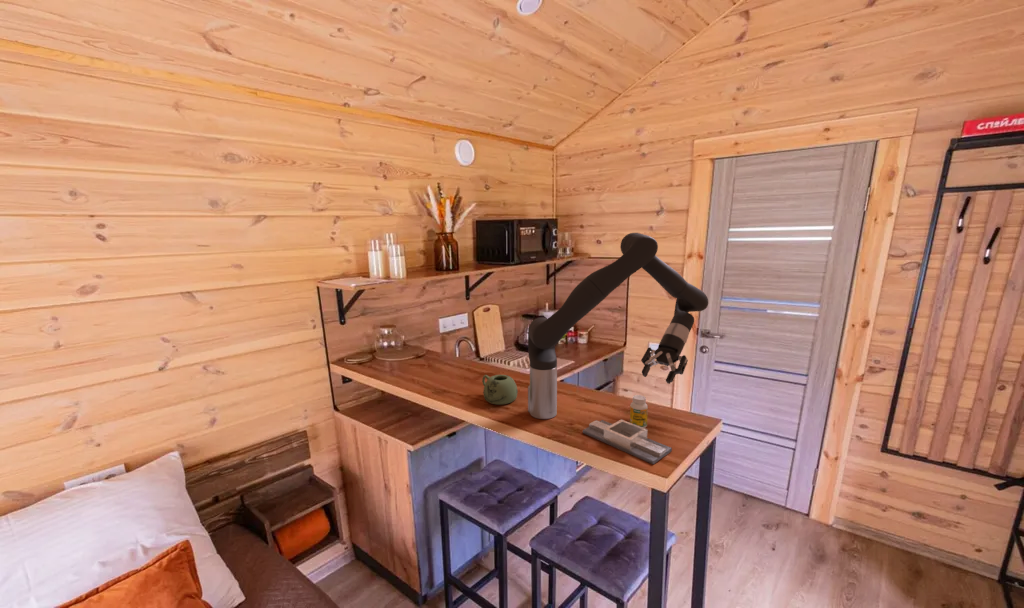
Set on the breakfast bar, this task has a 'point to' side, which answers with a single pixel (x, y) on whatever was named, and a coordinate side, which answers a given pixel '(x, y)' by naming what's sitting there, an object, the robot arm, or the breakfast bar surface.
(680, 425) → the breakfast bar surface
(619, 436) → the rail collar
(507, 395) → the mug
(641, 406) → the supplement bottle
